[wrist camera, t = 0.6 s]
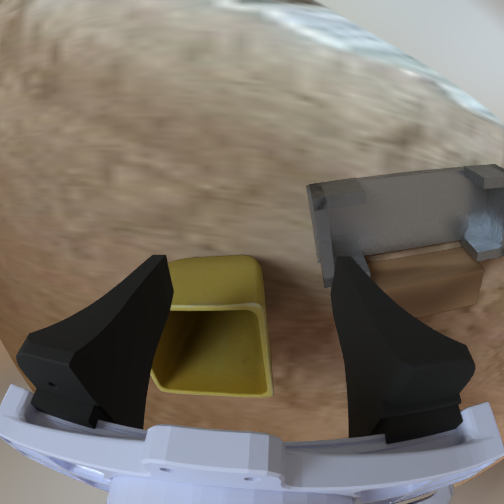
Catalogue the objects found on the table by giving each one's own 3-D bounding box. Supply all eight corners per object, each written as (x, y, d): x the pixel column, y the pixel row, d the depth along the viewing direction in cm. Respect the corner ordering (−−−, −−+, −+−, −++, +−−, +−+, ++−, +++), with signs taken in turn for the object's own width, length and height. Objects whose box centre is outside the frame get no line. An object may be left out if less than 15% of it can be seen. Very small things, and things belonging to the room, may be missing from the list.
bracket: (486, 233, 22) (508, 254, 18) (317, 260, 25) (321, 288, 21) (491, 161, 18) (517, 175, 15) (305, 181, 22) (309, 199, 18)
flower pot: (272, 231, 24) (263, 305, 16) (279, 318, 28) (273, 399, 20) (165, 237, 25) (117, 305, 17) (187, 318, 29) (159, 392, 21)
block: (458, 277, 24) (476, 303, 21) (350, 297, 26) (357, 328, 23) (463, 245, 23) (483, 269, 19) (348, 264, 25) (357, 293, 21)
